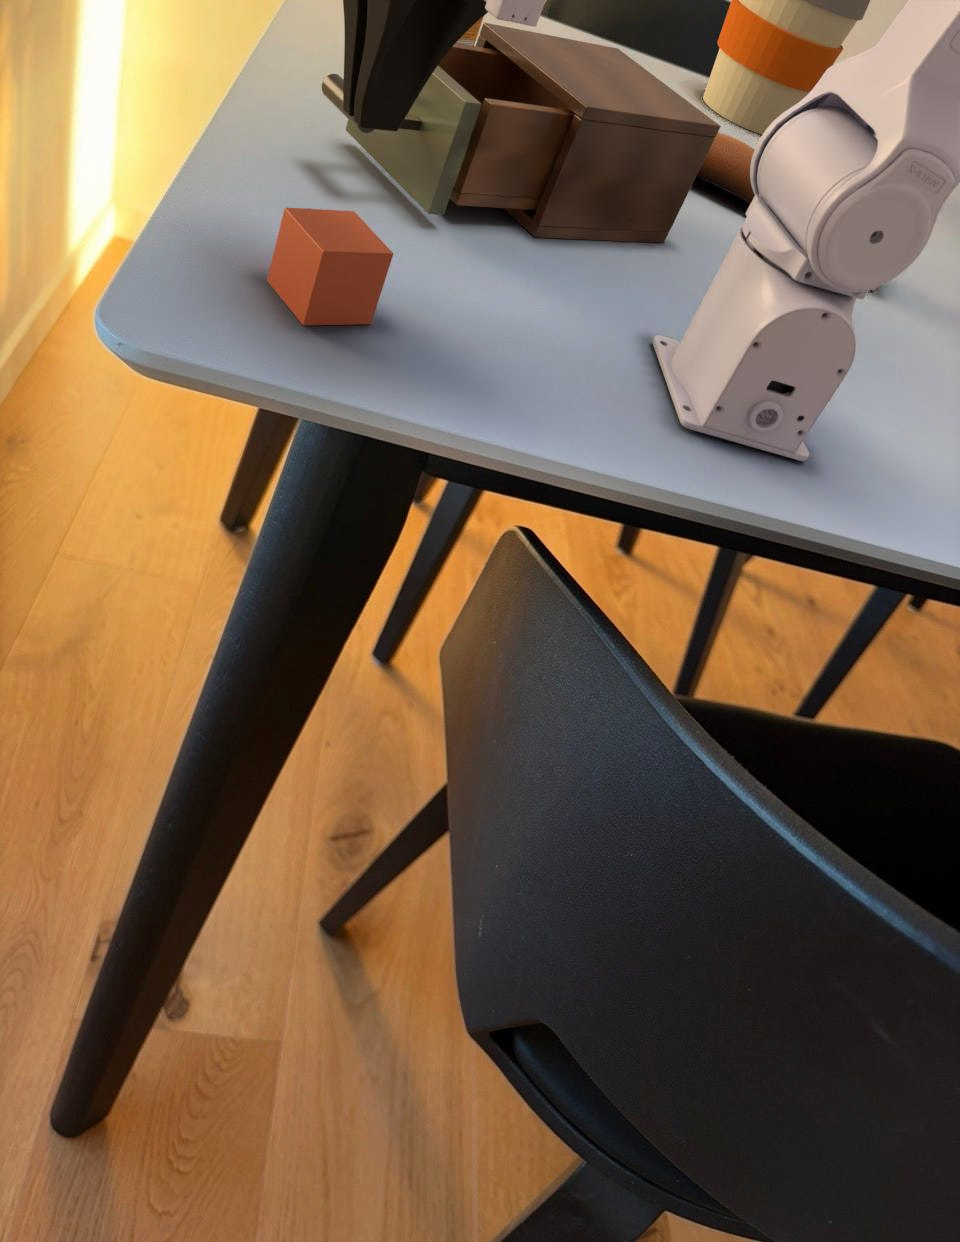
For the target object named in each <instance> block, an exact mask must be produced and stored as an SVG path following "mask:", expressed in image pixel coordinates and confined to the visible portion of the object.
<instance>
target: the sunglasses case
mask: <svg viewBox="0 0 960 1242" xmlns="http://www.w3.org/2000/svg"><path fill="white" fill-rule="evenodd" d="M714 138H715V139H714V141H713V143H712V145H711V147H710V149H709V151H708V153H707V155H706V158H705V160H704V162H703V164H702V166H701V168H700V170H699V172H698V174H697V176H696V177H699V179H702V180H704V181H705V182H707V183H709V184H712V185H714V186H716V187H718V188H720V189H721V190H723V191H726V192H728V193H730V194H731V195H734V196H735V197H738V198H739V199H741V200H744V201H745V202H747V203H749V205H750V204H751V202H752V200H753V198H754V196H755V194H754V192H753V189H752V186H751V180H750V165H751V160H752V156H753V153H754V150H755V148H754V147H752V146H750V145H749V144H747V143H745V142H743V141H742V140H740V139H738V138H735V137H733V136H731V135H729V134H725V133H721V132H719V131H718V133H717V135H716V137H714Z"/></svg>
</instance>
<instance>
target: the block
mask: <svg viewBox="0 0 960 1242" xmlns="http://www.w3.org/2000/svg"><path fill="white" fill-rule="evenodd" d="M280 221H281V222H280V225H279V229H278V234H277V238H276V242H275V245H274V246H275V247H274V250H273V253H272V257H271V262H270V266H269V270H268V273H267V279H266V282H267V283H268V285H270V287H271V288H272V290H274V292H275V293H276V294H277V295H278V297H279V298H280V299H281V300H282V301H283V302H284V304H285V305H286V306H287V307H288V309H289V310H290V311H291V312H292V314H293V315H294V316H295V317H296V318H297V320H298V321H299V322H300V324H301V325H302V326H344V325H345V326H346V325H347V326H348V325H349V326H352V325H371V324H372V323H373V318H374V316H375V313H376V311H377V307H378V303H379V300H380V297H381V294H382V291H383V288H384V285H385V282H386V279H387V275H388V272H389V269H390V266H391V263H392V260H393V256H394V252H393V251H392V250H391V249H390V248H389V247H388V246H387V245H386V244H385V243H384V242H383V241H382V239H381V238H380V237H379V236H378V235H377V234H376V233H375V232H374V230H372V229H371V228H370V226H368V224H367V223H366V222H365V221H364V220H363V219H362V218H361V216H359V215H358V214H357V212H356V211H354V210H338V209H322V208H320V209H319V208H302V207H301V208H300V207H284V209H283V212H282V217H281V220H280Z"/></svg>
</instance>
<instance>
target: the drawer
mask: <svg viewBox="0 0 960 1242" xmlns="http://www.w3.org/2000/svg"><path fill="white" fill-rule="evenodd" d="M343 82H344V78H343V77H342V76H340V75H339V74H337V73H330V74H328V75H327V76H325V77H324V79H323V80H322V83H321V92H322V94H323V95H324V96H325V98H326V99H328V100H329V101H330V103H332V104H333V105H334V106H335V108H336V109H337V110H338V111H340V112H341V114H342V115H344V116H345V118H346V119H348V120H347V123H346V128H345V132H347V134H349V135H350V137H352V139H354V140H355V141H356V142H357V143H358V144H359V146H360V147H362V149H363V150H365V151H366V152H367V153H368V155H370V157H372V159H374V161H376V163H377V164H379V166H380V167H381V168H383V170H384V171H385V172H386V173H387V174H388V175H389V176H390V177H391V178H392V179H393V180H395V182H396V183H397V184H398V185H399V186H400V187H401V188H402V189H403V190H404V191H405V192H406V193H407V194H408V195H409V196H410V197H411V198H412V199H413V201H415V202H416V203H417V204H418V205H419V206H420V207H421V208H422V209H423V210H424V212H426V213H427V214H428V215H441V216H442V215H445V213H446V210H447V207H448V204H449V201H450V200H451V202H453V203H454V204H455V205H456V206H463V207H464V206H466V207H478V208H479V207H480V208H481V207H482V208H495V209H497V208H498V209H504V208H511V209H526V210H537V208H538V205H539V203H540V200H541V198H542V195H543V193H544V190H545V188H546V185H547V183H548V180H549V178H550V175H551V173H552V170H553V168H554V165H555V163H556V160H557V158H558V155H559V153H560V150H561V148H562V145H563V143H564V140H565V138H566V135H567V133H568V130H569V128H570V125H571V123H572V120H573V118H574V115H575V113H574V112H573V111H571V110H570V109H569V108H568V107H567V106H565V105H564V104H563V103H562V102H561V101H559V100H558V99H557V98H556V97H555V96H553V95H552V94H551V93H550V92H549V91H547V90H546V89H545V88H544V87H542V86H541V85H540V84H539V83H538V82H536V81H535V80H534V79H533V78H532V77H530V76H529V75H528V74H527V73H526V72H524V71H523V70H522V69H521V68H519V67H518V66H517V65H516V64H515V63H513V62H512V61H511V60H510V59H509V58H507V57H506V56H505V55H504V54H503V53H501V52H500V51H499V50H493V49H488V48H482V47H477V46H476V45H474V46H471V45H465V44H460V43H455V44H454V46H453V47H452V48H451V49H450V50H449V52H448V53H447V54H446V55H445V57H444V58H443V59H442V60H441V62H440V63H439V64H438V66H437V67H436V69H435V70H434V72H433V73H432V75H431V76H430V78H429V79H428V81H427V82H426V84H425V86H424V87H423V89H422V90H421V92H420V94H419V95H418V97H417V99H416V100H415V102H414V104H413V105H412V107H411V109H410V111H409V112H408V114H407V116H406V117H405V119H404V121H403V122H402V124H401V126H400V127H399V129H398V130H397V131H387V130H378V129H369V128H363V127H361V126H360V125H359V124H358V123H357V122H356V121H355V120H354V116H349V115H348V114H347V113H346V112H345V111H344V109H343Z"/></svg>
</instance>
